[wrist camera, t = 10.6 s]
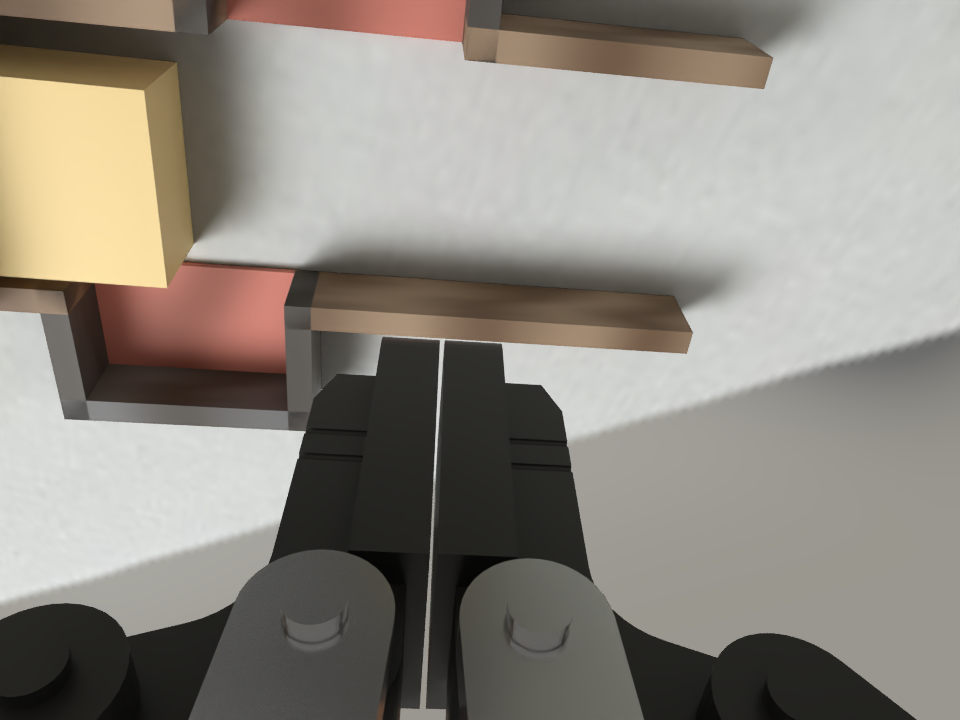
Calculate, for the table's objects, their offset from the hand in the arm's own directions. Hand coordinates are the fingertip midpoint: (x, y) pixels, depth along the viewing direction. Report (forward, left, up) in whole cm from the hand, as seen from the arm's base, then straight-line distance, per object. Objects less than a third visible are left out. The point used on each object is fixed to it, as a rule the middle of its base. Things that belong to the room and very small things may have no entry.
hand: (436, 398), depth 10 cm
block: (+13, +5, -21) cm, 25 cm away
